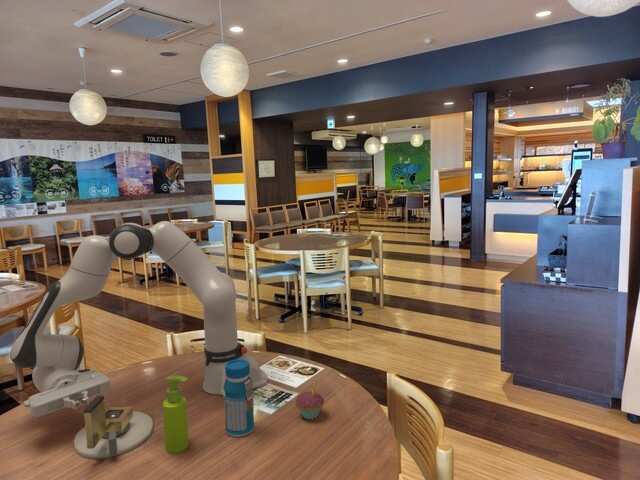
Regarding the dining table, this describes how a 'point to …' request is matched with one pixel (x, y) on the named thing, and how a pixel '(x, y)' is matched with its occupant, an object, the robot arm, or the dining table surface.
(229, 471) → the dining table surface
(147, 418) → the plate
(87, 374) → the robot arm
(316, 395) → the cupcake
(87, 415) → the tan piece
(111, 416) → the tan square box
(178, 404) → the soap dispenser
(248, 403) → the beverage bottle
